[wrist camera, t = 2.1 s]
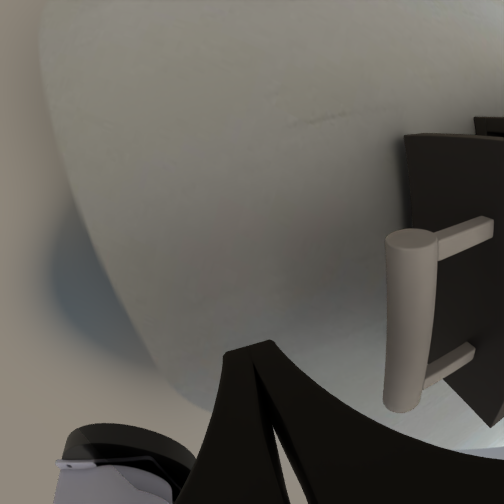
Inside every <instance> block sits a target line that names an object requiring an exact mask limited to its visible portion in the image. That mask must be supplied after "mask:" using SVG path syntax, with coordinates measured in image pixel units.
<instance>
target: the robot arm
mask: <svg viewBox="0 0 504 504" xmlns="http://www.w3.org/2000/svg"><path fill="white" fill-rule="evenodd" d="M272 425H273V426H272ZM273 428H274V430H275V432H276V434H277V436H278V439H279V441H280V443H281V445H282V447H283V449H284V451H285V454H286V455H287V458H288V460H289V462H290V464H291V466H292V468H293V470H294V472H295V474H296V476H297V478H298V481H299V483H300V484H301V487H302V489H303V492H304V494H305V496H306V499H307V502H308V504H504V460H500V459H492V458H484V457H479V456H474V455H469V454H464V453H459V452H456V451H452V450H448V449H444V448H441V447H437V446H434V445H432V444H429V443H426V442H423V441H420V440H418V439H415V438H412V437H409V436H407V435H404V434H402V433H399V432H397V431H395V430H392V429H390V428H388V427H386V426H384V425H382V424H380V423H378V422H376V421H374V420H372V419H370V418H368V417H367V416H365V415H363V414H361V413H359V412H358V411H356V410H354V409H353V408H351V407H350V406H348V405H346V404H345V403H343V402H342V401H340V400H339V399H337V398H336V397H335V396H333V395H332V394H330V393H329V392H327V391H326V390H325V389H323V388H322V387H321V386H320V385H318V384H317V383H316V382H315V381H313V380H312V379H311V378H310V377H309V376H307V375H306V374H305V373H304V372H303V371H301V370H300V369H299V368H298V367H297V366H296V365H295V364H294V363H293V362H292V361H291V360H290V359H289V358H288V357H287V356H286V355H285V354H284V353H283V352H282V351H281V350H280V349H279V347H278V346H277V345H276V344H275V342H274V341H272V340H266V341H263V342H259V343H256V344H253V345H249V346H246V347H242V348H239V349H235V350H231V351H228V352H226V353H225V354H224V355H223V364H222V373H221V379H220V384H219V389H218V393H217V397H216V401H215V405H214V409H213V413H212V416H211V419H210V423H209V426H208V429H207V432H206V435H205V438H204V441H203V444H202V446H201V449H200V451H199V454H198V456H197V459H196V461H195V463H194V465H193V468H192V470H191V472H190V474H189V476H188V478H187V480H186V482H185V484H184V486H183V488H182V489H181V488H180V487H179V486H178V485H177V484H176V482H175V481H174V480H173V479H172V478H171V477H170V476H169V475H168V474H167V473H166V472H165V471H164V469H163V468H162V467H161V466H160V465H159V464H158V463H157V461H156V460H155V459H154V458H153V457H151V456H137V457H126V458H112V459H89V460H56V462H55V464H56V466H58V467H59V468H60V469H61V470H60V474H59V479H58V483H57V487H56V492H55V497H54V502H53V504H172V502H175V503H174V504H290V501H289V497H288V493H287V490H286V486H285V482H284V477H283V473H282V468H281V464H280V459H279V454H278V449H277V445H276V440H275V435H274V431H273Z"/></svg>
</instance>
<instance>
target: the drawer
mask: <svg viewBox="0 0 504 504" xmlns="http://www.w3.org/2000/svg"><path fill="white" fill-rule="evenodd" d="M404 142H405V148H406V156H407V164H408V172H409V182H410V192H411V205H412V221H413V229H402V230H398V231H395V232H392V233H390V234H389V235H387V237H386V239H385V250H386V272H387V341H386V362H385V378H384V390H383V403H384V405H385V406H386V408H387V409H389V410H390V411H392V412H396V413H405V412H408V411H411V410H412V409H414V408H415V407H416V406H417V405H418V403H419V401H420V398H421V393H422V390H424V389H426V388H428V387H430V386H431V385H433V384H435V383H436V382H438V381H440V380H441V379H443V380H444V381H445V382H446V383H447V384H448V385H449V386H450V387H451V388H452V389H453V390H454V391H455V392H456V393H457V394H458V395H459V396H460V397H461V398H462V399H463V400H464V401H465V402H466V403H467V404H468V405H469V406H470V407H471V408H472V409H473V410H474V412H475V413H476V414H477V415H478V416H479V417H480V418H481V419H482V420H483V421H484V422H485V423H486V424H487V425H488V426H489V427H490V428H491V427H492V426H494V425H495V424H496V423H497V422H498V421H500V420H501V419H502V418H503V417H504V137H493V136H481V135H465V134H441V133H420V134H411V135H404ZM427 364H428V365H427Z"/></svg>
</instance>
